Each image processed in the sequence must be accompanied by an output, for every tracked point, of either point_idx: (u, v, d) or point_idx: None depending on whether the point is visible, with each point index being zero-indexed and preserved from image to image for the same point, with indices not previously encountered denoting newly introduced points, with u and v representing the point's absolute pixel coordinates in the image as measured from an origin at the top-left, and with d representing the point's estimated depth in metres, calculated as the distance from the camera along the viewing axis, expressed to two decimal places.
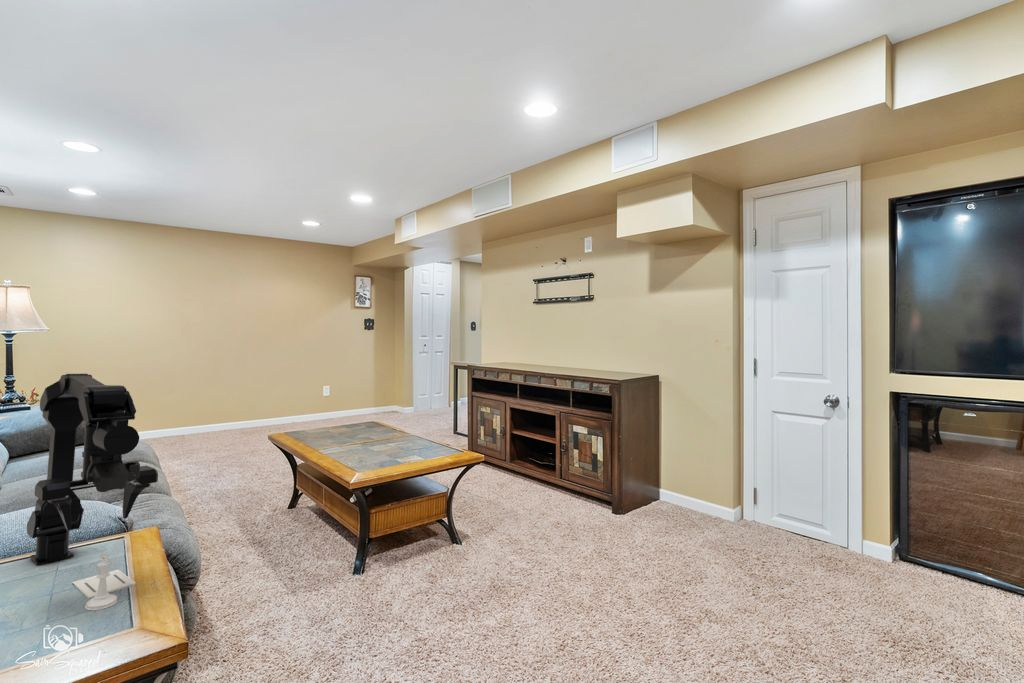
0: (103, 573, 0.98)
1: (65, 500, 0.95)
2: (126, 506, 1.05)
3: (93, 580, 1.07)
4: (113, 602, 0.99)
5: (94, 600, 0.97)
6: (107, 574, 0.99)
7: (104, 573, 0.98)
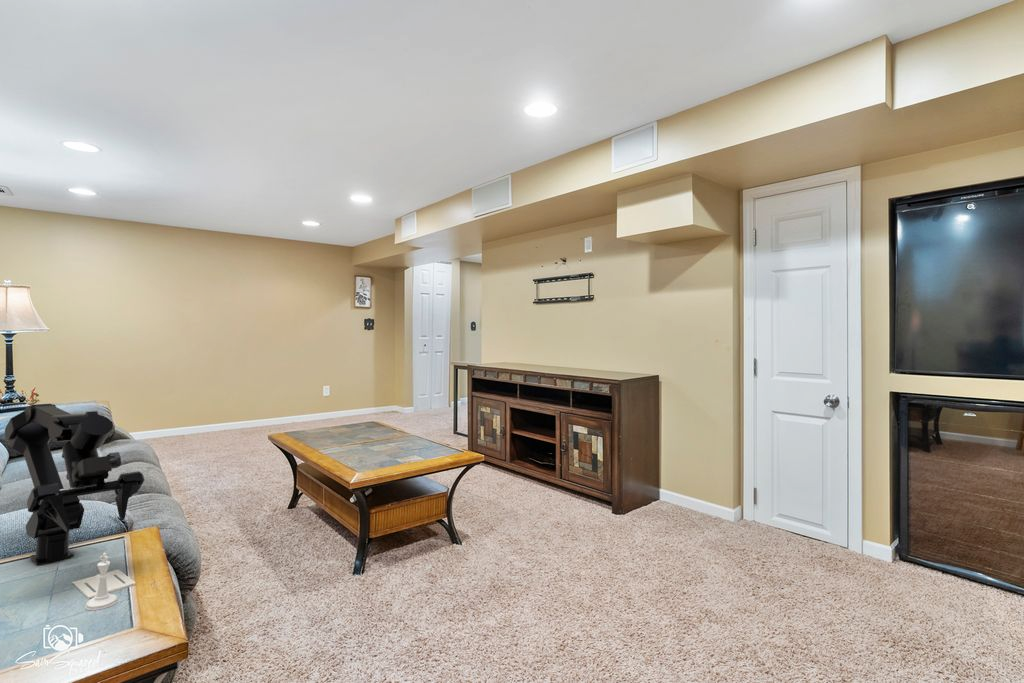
0: (103, 573, 0.98)
1: (56, 496, 1.01)
2: (121, 507, 1.09)
3: (93, 580, 1.07)
4: (113, 602, 0.99)
5: (94, 600, 0.97)
6: (107, 574, 0.99)
7: (104, 573, 0.98)
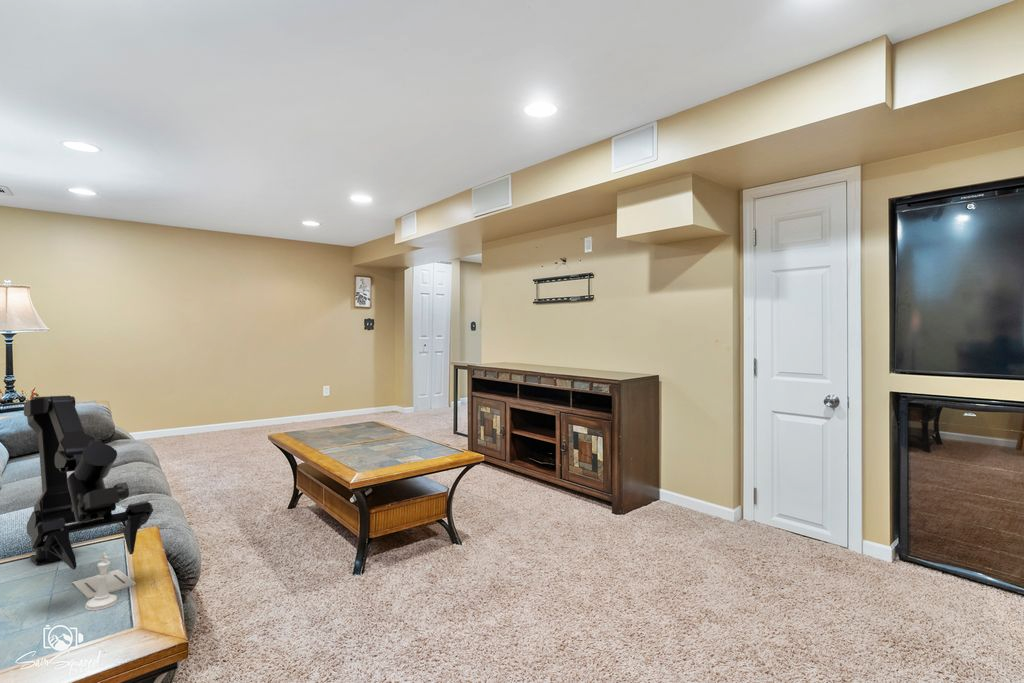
0: (103, 573, 0.98)
1: (62, 531, 0.96)
2: (129, 540, 1.04)
3: (93, 580, 1.07)
4: (113, 602, 0.99)
5: (94, 600, 0.97)
6: (107, 574, 0.99)
7: (104, 573, 0.98)
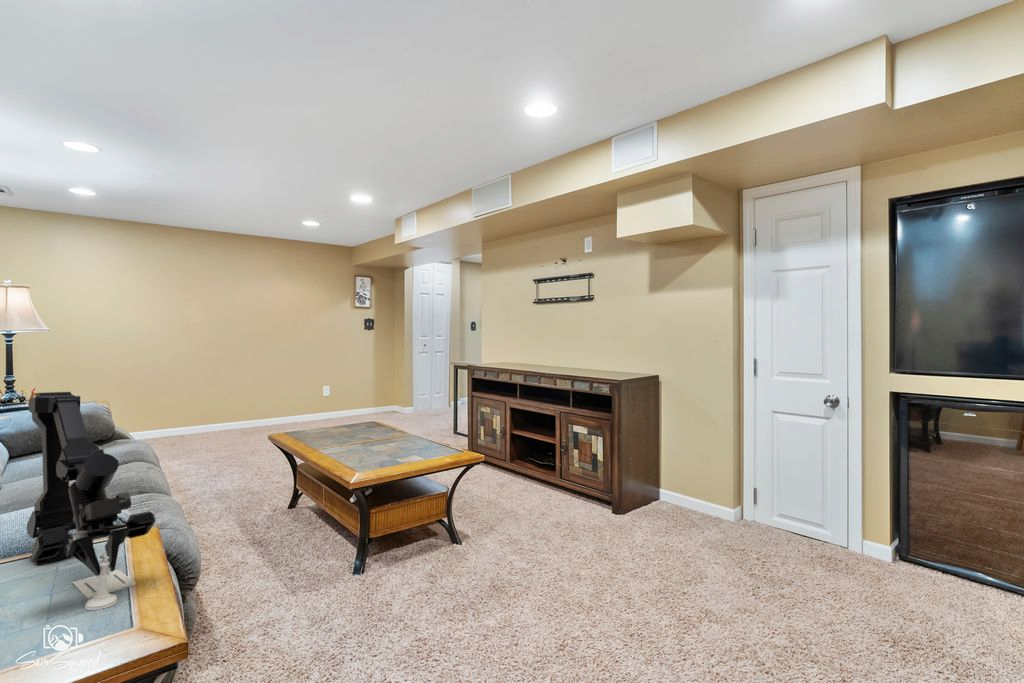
0: (103, 573, 0.98)
1: (86, 538, 0.97)
2: (110, 557, 1.00)
3: (93, 580, 1.07)
4: (113, 602, 0.99)
5: (94, 600, 0.97)
6: (107, 574, 0.99)
7: (104, 573, 0.98)
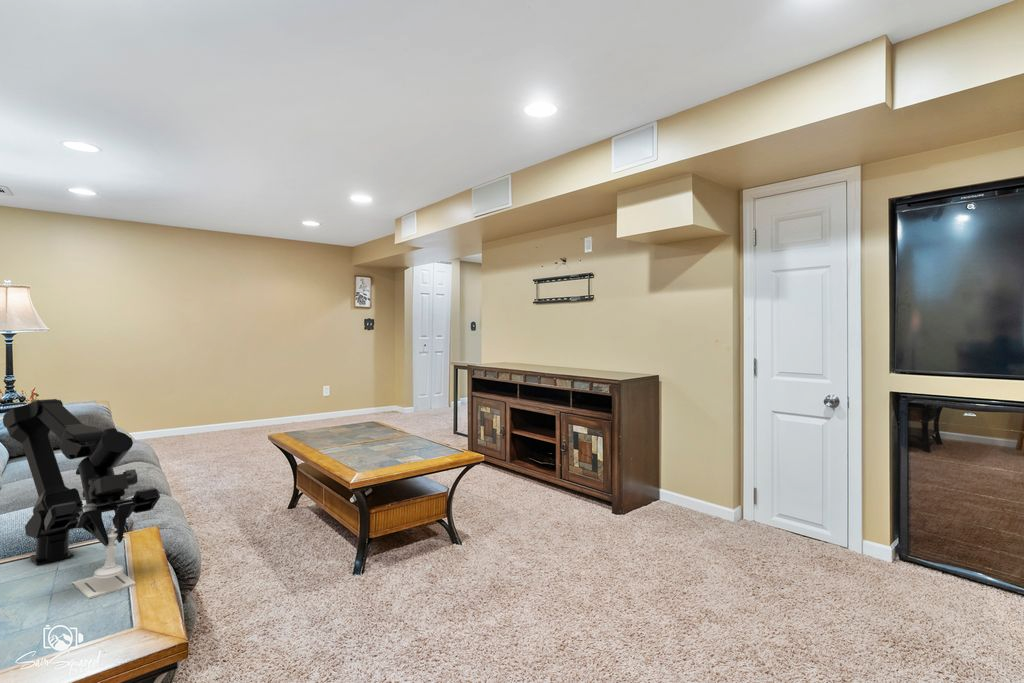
0: (111, 544, 1.04)
1: (95, 510, 1.03)
2: (118, 529, 1.06)
3: (93, 580, 1.07)
4: (120, 571, 1.05)
5: (102, 569, 1.03)
6: (115, 545, 1.05)
7: (112, 544, 1.04)
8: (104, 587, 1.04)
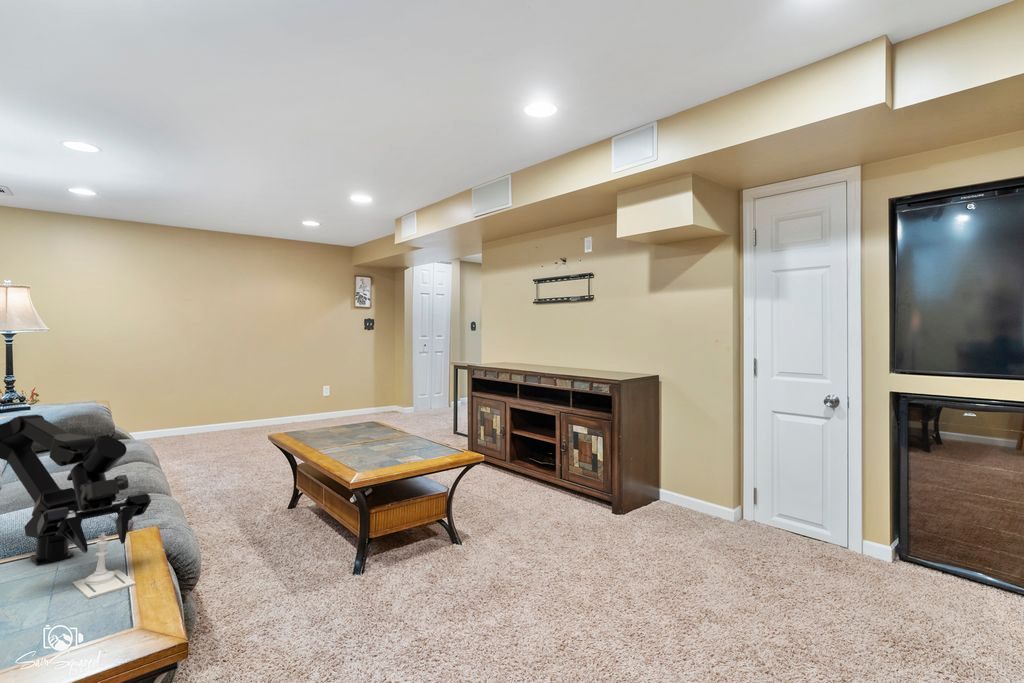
0: (101, 551, 1.07)
1: (75, 518, 1.04)
2: (121, 531, 1.10)
3: None
4: (111, 578, 1.07)
5: (93, 576, 1.06)
6: (105, 552, 1.07)
7: (102, 551, 1.07)
8: (104, 587, 1.04)
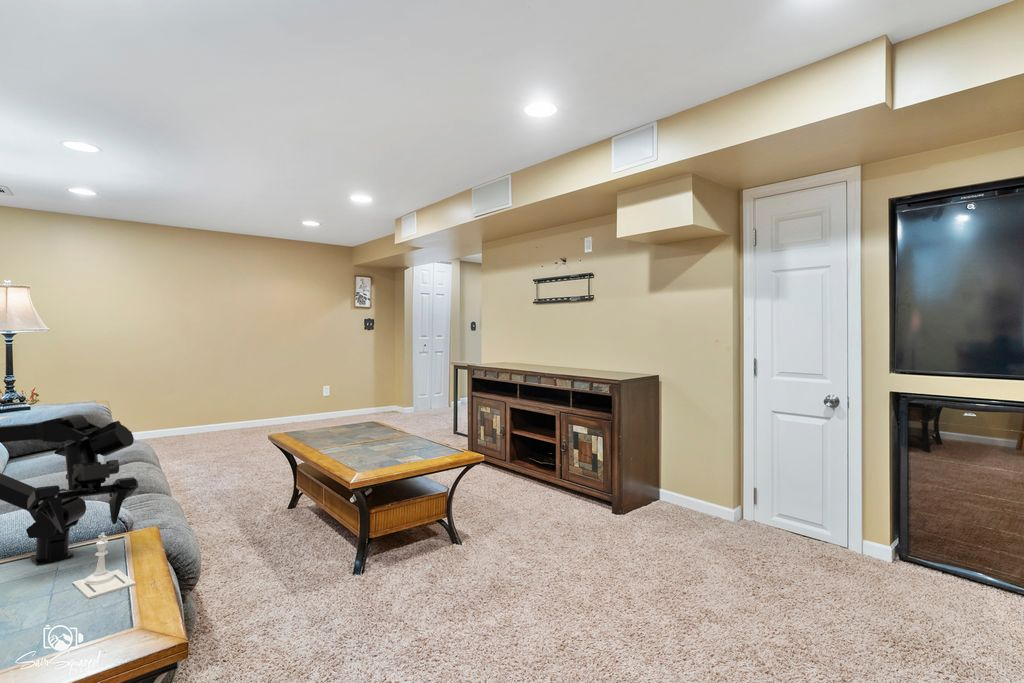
0: (101, 551, 1.07)
1: (56, 498, 1.08)
2: (114, 512, 1.16)
3: None
4: (111, 578, 1.07)
5: (93, 576, 1.06)
6: (105, 552, 1.07)
7: (102, 551, 1.07)
8: (104, 587, 1.04)
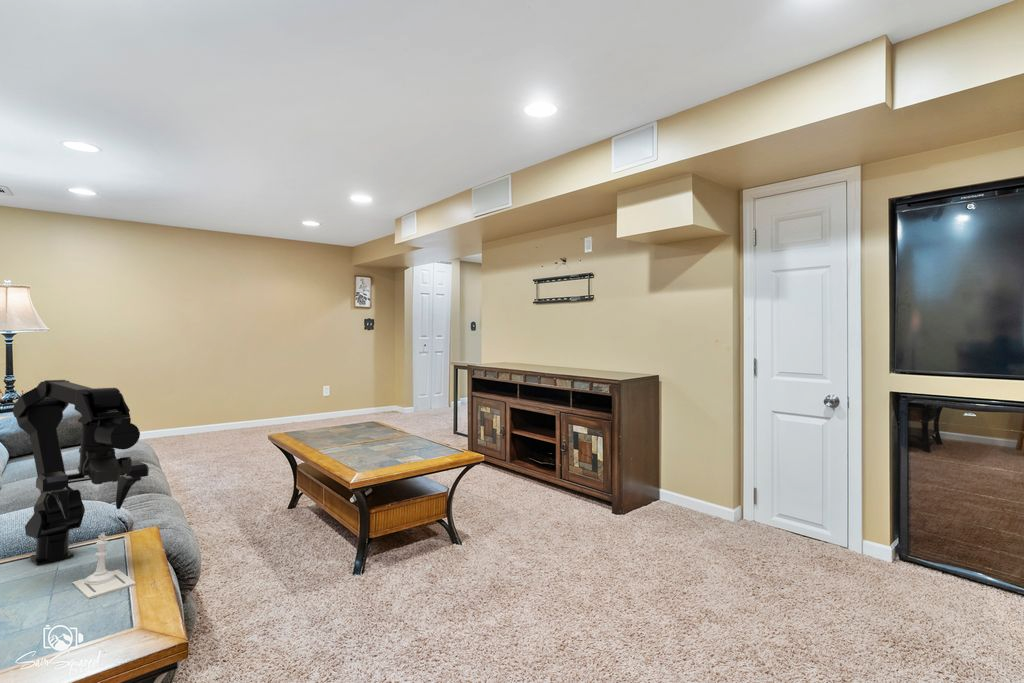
0: (101, 551, 1.07)
1: (63, 491, 1.05)
2: (119, 498, 1.15)
3: None
4: (111, 578, 1.07)
5: (93, 576, 1.06)
6: (105, 552, 1.07)
7: (102, 551, 1.07)
8: (104, 587, 1.04)
